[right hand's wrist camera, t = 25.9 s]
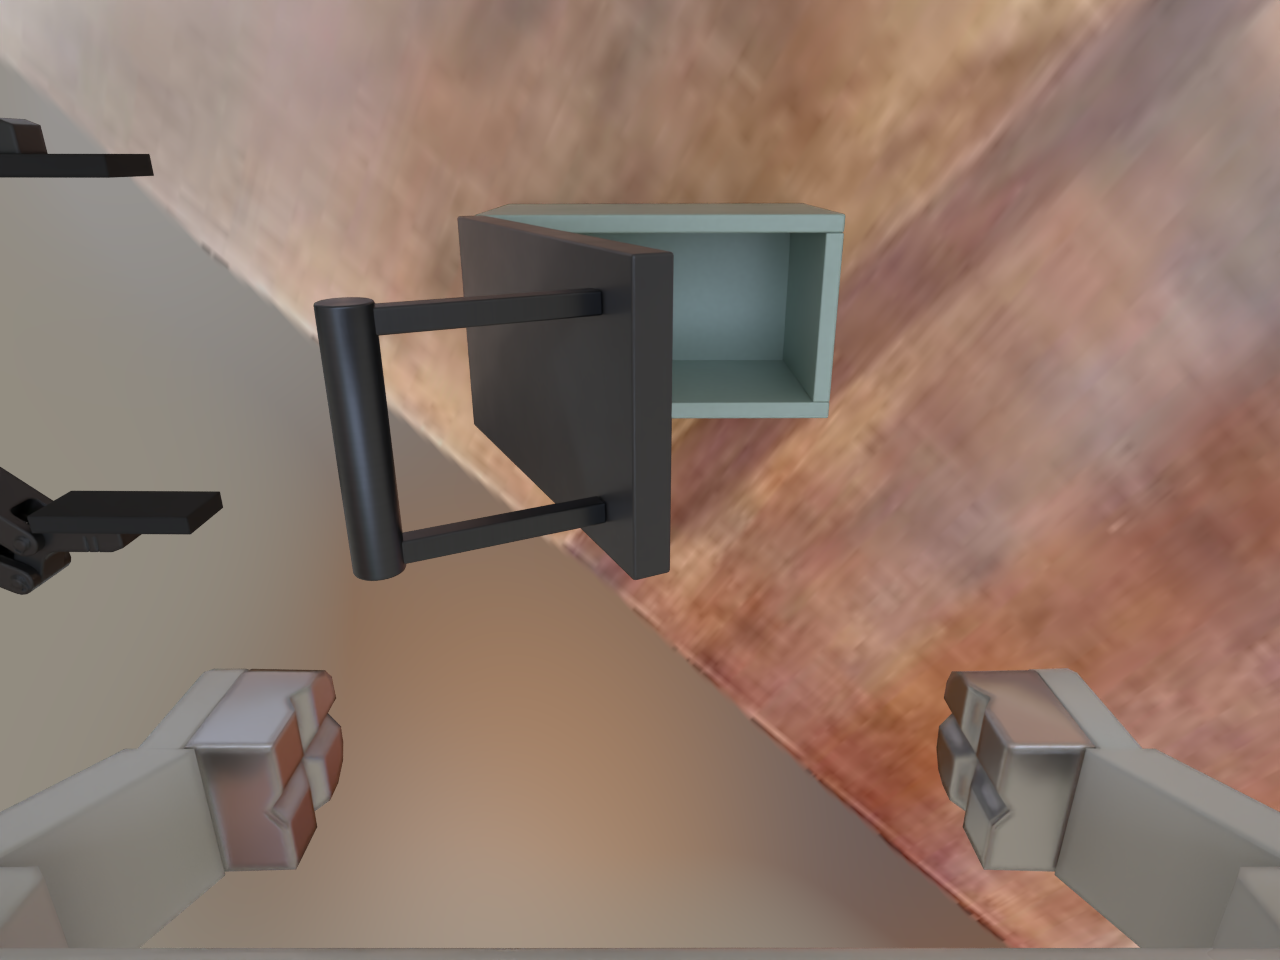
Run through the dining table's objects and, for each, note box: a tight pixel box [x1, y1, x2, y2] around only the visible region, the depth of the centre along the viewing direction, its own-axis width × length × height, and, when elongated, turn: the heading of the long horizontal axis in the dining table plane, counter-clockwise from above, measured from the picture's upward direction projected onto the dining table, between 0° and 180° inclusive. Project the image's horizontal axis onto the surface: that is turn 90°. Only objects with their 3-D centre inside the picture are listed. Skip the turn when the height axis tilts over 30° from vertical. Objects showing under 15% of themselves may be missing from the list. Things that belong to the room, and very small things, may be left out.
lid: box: [314, 216, 674, 581], centre depth 28 cm, size 17×9×9 cm
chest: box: [475, 203, 845, 418], centre depth 42 cm, size 16×9×10 cm, turn 90°
